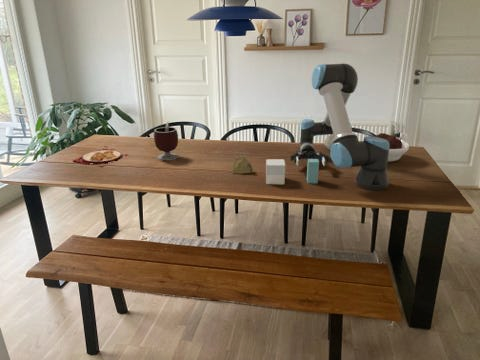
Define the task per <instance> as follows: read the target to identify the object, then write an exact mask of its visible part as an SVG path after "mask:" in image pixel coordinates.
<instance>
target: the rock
mask: <svg viewBox="0 0 480 360" xmlns="http://www.w3.org/2000/svg"><path fill="white" fill-rule="evenodd" d="M253 168H254V167H253V166H252V164H251V163H250V162H249V160H248V159H247V158H246V157H245V156H244V155H243V154H241V153H237V155H236V157H235V159H234V164H233V167H232V172H231V174H232V175H234V174H237V175H238V174H241V175H242V174H248V173H249V174H250V173H251V174H252V173H254V169H253Z"/></svg>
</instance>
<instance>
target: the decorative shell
mask: <svg viewBox="0 0 480 360" xmlns="http://www.w3.org/2000/svg"><path fill="white" fill-rule="evenodd" d="M334 139H335V138H334V134H331V135H328V136H327V137H326V138H325V140H324V142H323V144H324V146H325V148H326V149H327V150H329V151H330V148H331V146H332V144H333V143H332V142H333V141H334Z"/></svg>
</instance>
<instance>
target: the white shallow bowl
mask: <svg viewBox="0 0 480 360" xmlns="http://www.w3.org/2000/svg"><path fill="white" fill-rule="evenodd" d="M372 137H379V138H382V139H385V140H387V141H388V142H389V144H390V145H389V154H388V161H387V162H396V161H399V160H400V159H401V158H402V156H403V155H404V154H406V152H408V150H409V149H410V145H409V143H408V142H406V141H404V140H401V139H400V138H399V139H398V138H397V137H396V135H390V134H388V133H383V132H381V133H378V134H376V135H372Z"/></svg>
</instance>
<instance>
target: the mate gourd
mask: <svg viewBox="0 0 480 360" xmlns="http://www.w3.org/2000/svg"><path fill="white" fill-rule="evenodd" d="M153 131H154V133H153V141H154V144H155V146H156V148H157V149H158V150H159V151H161V152H164V153H162V154H159V155H157V157H156V158H157V160H159V161H163V160H169V161H174V160H177V159H178V158H179V155H178V154H176V153H171V152H172V151H174V150H175V149H176V148H177V147H178V144H179V134H178V131H177V128H176V127H171V126H170V125H169V121H167V122H166V124H165V126H164V127H163V126H162V127H157V128H155V129H154V130H153ZM176 158H177V159H176ZM173 159H174V160H173Z"/></svg>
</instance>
